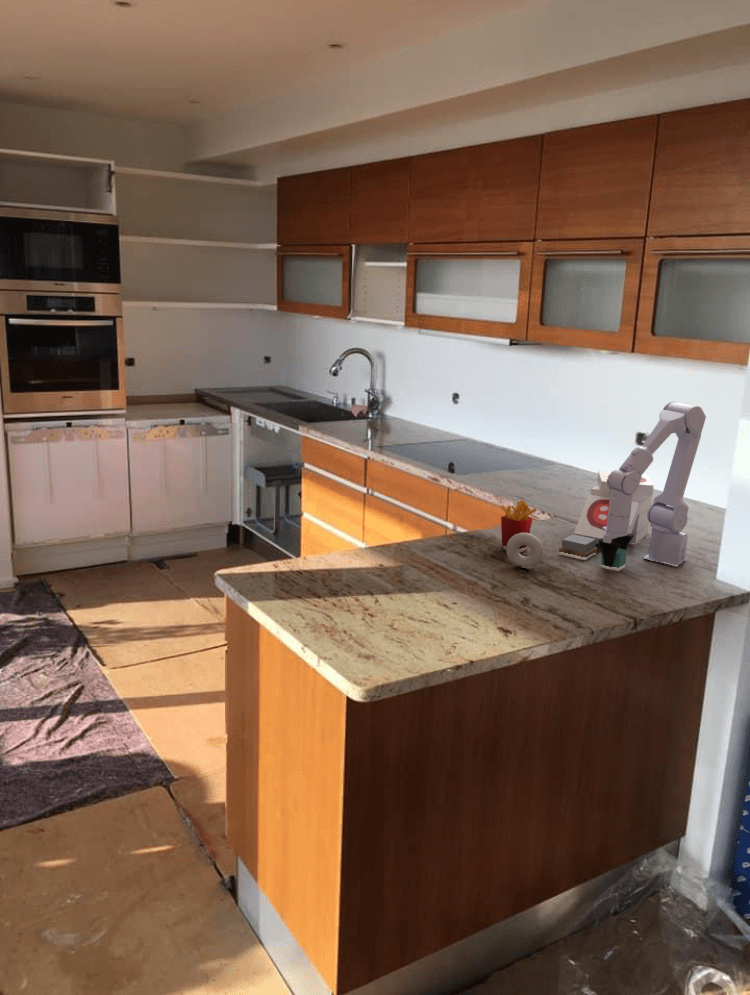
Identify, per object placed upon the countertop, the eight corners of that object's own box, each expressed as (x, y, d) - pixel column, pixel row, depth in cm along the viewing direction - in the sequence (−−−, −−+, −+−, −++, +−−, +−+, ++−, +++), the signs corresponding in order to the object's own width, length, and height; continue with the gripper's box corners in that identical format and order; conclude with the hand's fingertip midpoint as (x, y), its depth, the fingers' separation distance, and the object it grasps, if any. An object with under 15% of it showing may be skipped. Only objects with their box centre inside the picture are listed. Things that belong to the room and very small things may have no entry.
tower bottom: (596, 555, 239) (597, 547, 238) (585, 562, 233) (586, 554, 232) (570, 549, 243) (570, 541, 243) (558, 556, 237) (559, 547, 236)
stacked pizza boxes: (566, 544, 246) (572, 485, 242) (597, 522, 271) (603, 467, 267) (631, 557, 237) (639, 496, 232) (657, 533, 262) (664, 477, 257)
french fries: (497, 549, 239) (501, 499, 235) (514, 544, 245) (518, 494, 241) (522, 557, 233) (527, 505, 229) (539, 551, 239) (544, 500, 235)
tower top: (594, 547, 238) (595, 539, 237) (584, 553, 233) (585, 544, 232) (571, 542, 242) (572, 534, 241) (561, 547, 237) (562, 539, 236)
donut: (503, 567, 224) (506, 531, 222) (506, 563, 227) (509, 528, 225) (540, 573, 221) (543, 537, 218) (542, 569, 224) (546, 533, 221)
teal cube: (625, 567, 228) (627, 550, 227) (618, 572, 225) (620, 554, 223) (607, 563, 231) (609, 546, 230) (600, 567, 227) (602, 550, 226)
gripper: (614, 506, 232) (609, 552, 235) (594, 516, 221) (589, 565, 224) (639, 511, 228) (633, 558, 231) (620, 522, 217) (614, 571, 220)
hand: (613, 562), depth 228 cm, fingers open, 7 cm apart
